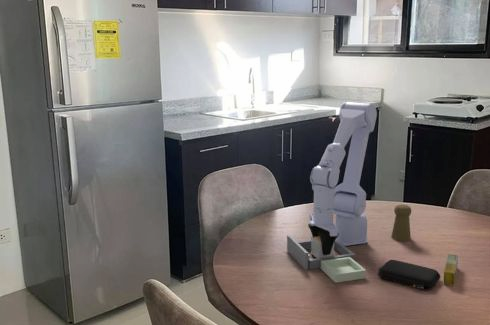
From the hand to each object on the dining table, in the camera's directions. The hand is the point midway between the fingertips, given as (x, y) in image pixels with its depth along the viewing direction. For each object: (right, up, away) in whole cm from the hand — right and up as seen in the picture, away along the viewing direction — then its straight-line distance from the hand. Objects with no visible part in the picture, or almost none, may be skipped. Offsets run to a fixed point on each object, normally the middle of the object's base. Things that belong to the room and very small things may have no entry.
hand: (322, 250), depth 144 cm
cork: (+28, +1, +14) cm, 31 cm away
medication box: (+32, -5, -13) cm, 35 cm away
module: (0, -1, 0) cm, 2 cm away
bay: (+4, -4, -11) cm, 12 cm away
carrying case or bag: (+20, -6, -14) cm, 25 cm away
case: (0, -2, 0) cm, 2 cm away
